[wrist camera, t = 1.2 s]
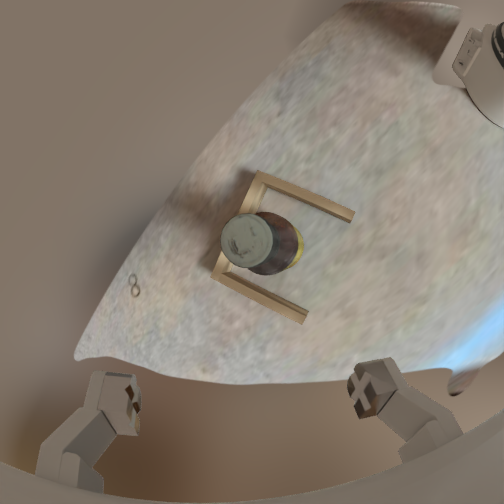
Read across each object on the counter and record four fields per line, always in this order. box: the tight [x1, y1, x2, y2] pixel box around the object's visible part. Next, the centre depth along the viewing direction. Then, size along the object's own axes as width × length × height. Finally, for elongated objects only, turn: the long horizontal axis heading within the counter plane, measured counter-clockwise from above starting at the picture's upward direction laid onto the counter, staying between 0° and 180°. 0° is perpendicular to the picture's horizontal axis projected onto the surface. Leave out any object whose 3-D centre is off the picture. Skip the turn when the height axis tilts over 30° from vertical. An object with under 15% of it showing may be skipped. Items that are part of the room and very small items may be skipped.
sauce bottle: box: [220, 212, 304, 275], centre depth 31 cm, size 6×6×20 cm
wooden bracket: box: [211, 170, 355, 324], centre depth 39 cm, size 16×14×4 cm
